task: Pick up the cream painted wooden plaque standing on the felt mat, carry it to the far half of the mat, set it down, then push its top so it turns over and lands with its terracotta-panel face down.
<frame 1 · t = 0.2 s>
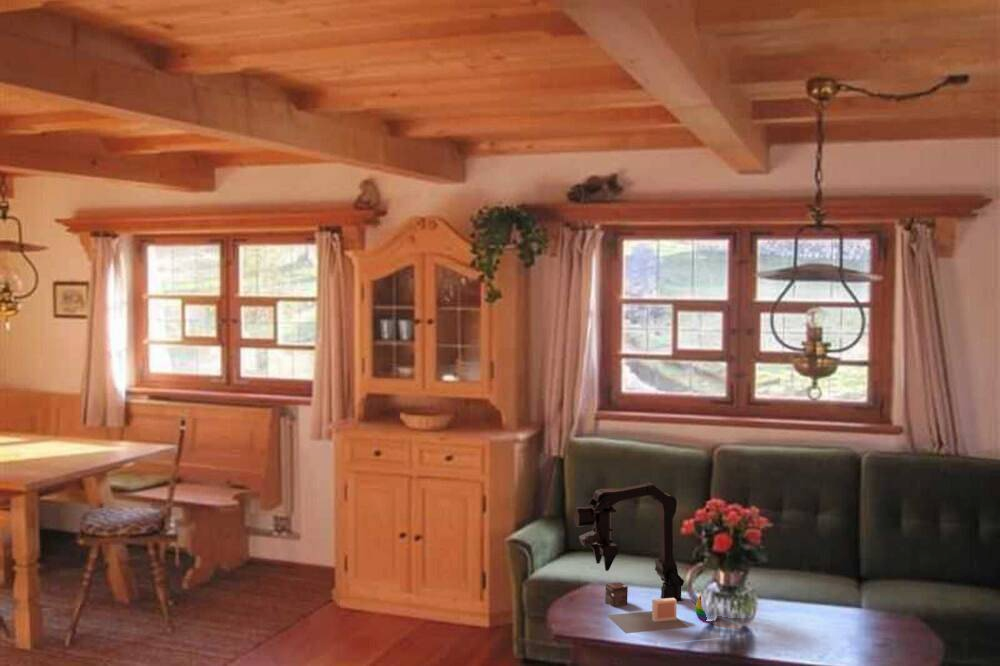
hand: (602, 567, 350), 14 cm above the table, tool pointing down, fingers open, 9 cm apart
mat: (646, 622, 335), on the table
plaque: (664, 619, 336), resting on mat
box: (616, 605, 353), on the table
decorative egg: (707, 620, 337), on the table
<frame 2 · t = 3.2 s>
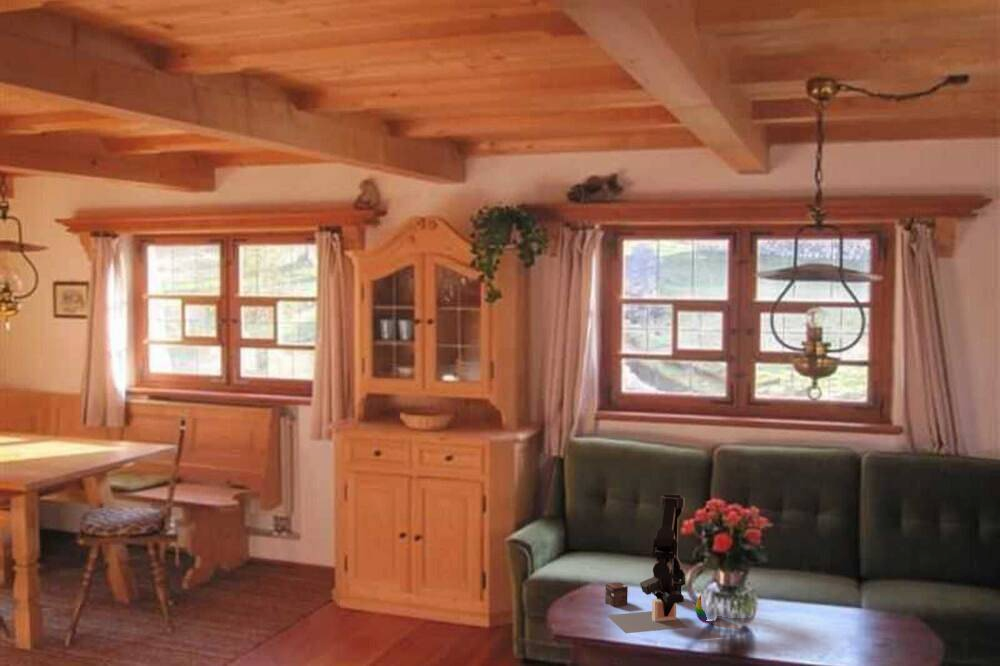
hand: (664, 614, 336), 2 cm above the table, tool pointing down, fingers closed on plaque, 3 cm apart
plaque: (664, 619, 336), resting on mat, touching gripper
everything else where it was.
when the fingers open (2 cm above the table, at t = 6.8 s): plaque stays where it is, resting on mat.
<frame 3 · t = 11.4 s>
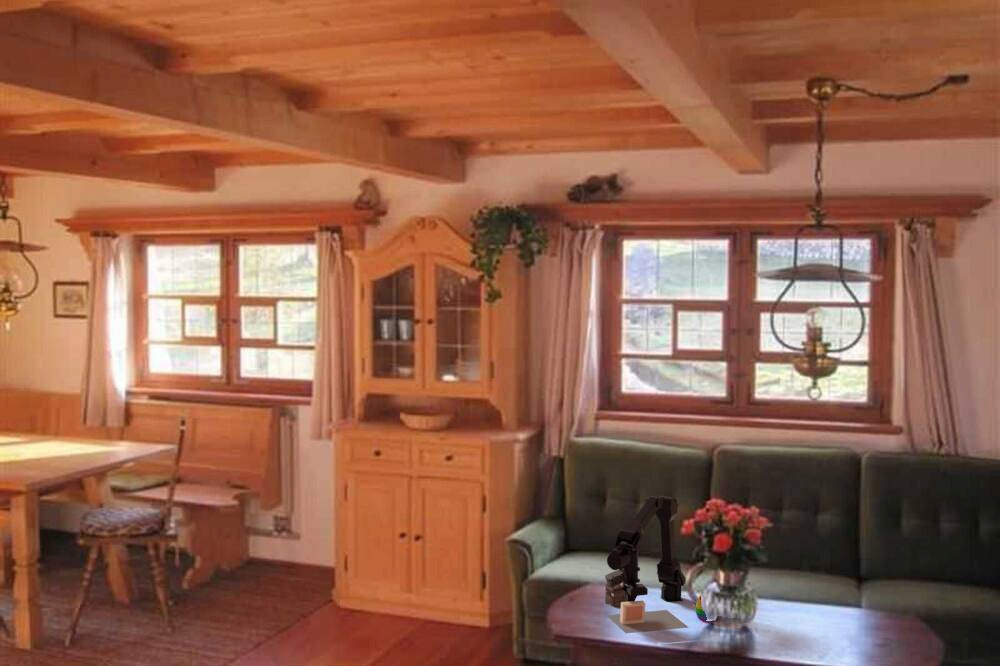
hand: (629, 607, 335), 5 cm above the table, tool pointing down, fingers closed
plaque: (632, 621, 333), point 1 cm above the table, tilted 7°, touching gripper, mat
everything else where it was.
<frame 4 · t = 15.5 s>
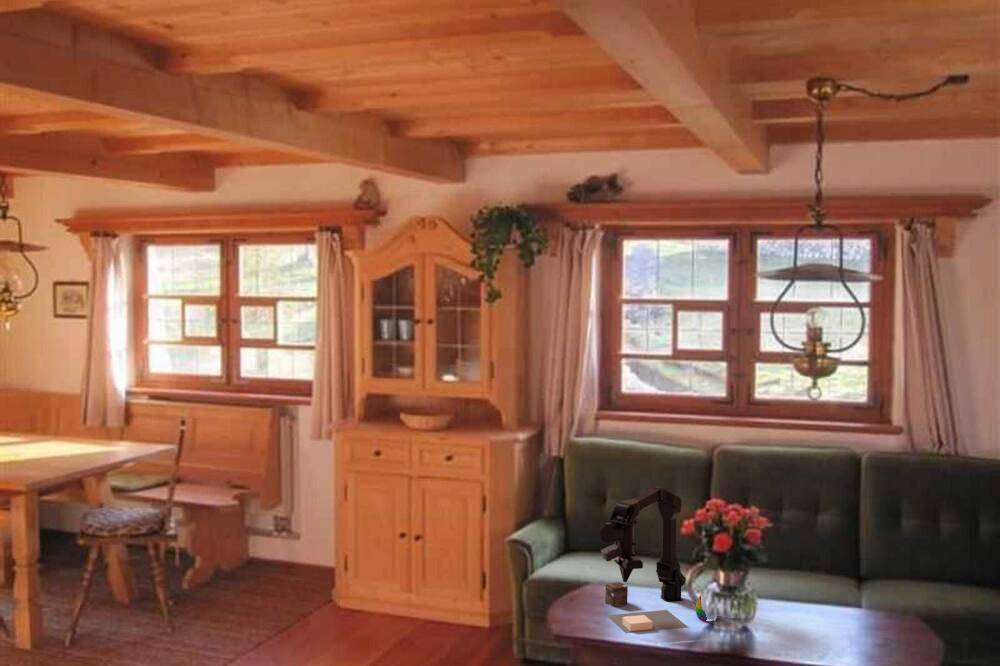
hand: (624, 581, 339), 12 cm above the table, tool pointing down, fingers closed
plaque: (633, 619, 332), point 2 cm above the table, tilted 90°, touching mat
everything else where it was.
at the end: plaque tilted 90°; plaque inside the target area (1.4 cm from its centre), point 1.8 cm above the table; the gripper is holding nothing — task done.
